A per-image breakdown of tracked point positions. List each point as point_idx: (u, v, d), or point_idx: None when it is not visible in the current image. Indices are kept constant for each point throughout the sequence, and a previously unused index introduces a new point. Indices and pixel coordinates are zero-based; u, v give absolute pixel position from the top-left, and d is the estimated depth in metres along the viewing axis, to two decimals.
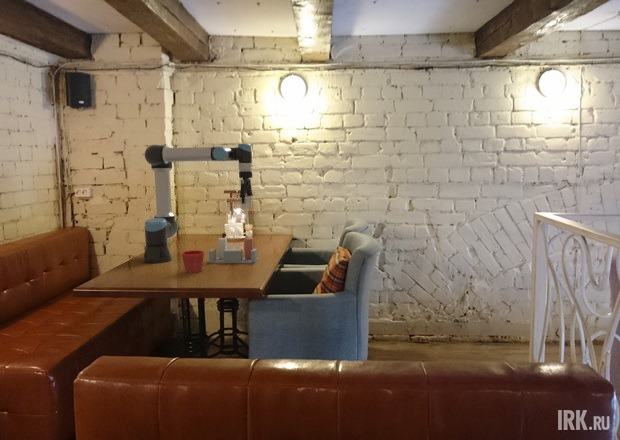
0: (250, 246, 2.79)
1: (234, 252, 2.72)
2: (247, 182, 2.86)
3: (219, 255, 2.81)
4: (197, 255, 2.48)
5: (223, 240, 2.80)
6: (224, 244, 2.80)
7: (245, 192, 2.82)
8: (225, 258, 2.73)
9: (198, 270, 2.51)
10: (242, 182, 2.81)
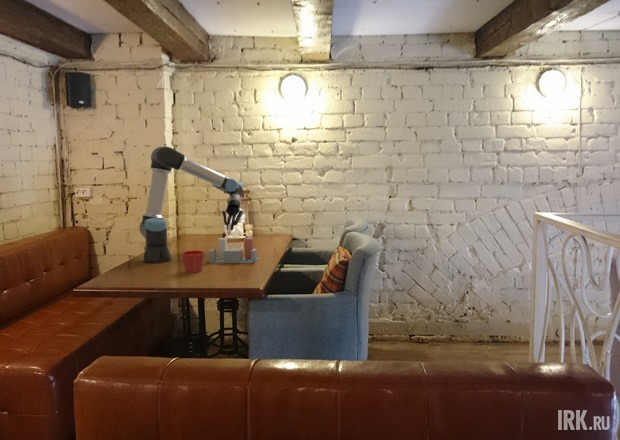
0: (250, 246, 2.79)
1: (234, 252, 2.72)
2: (229, 210, 3.05)
3: (219, 255, 2.81)
4: (197, 255, 2.48)
5: (223, 240, 2.80)
6: (224, 244, 2.80)
7: (227, 220, 3.01)
8: (225, 258, 2.73)
9: (198, 270, 2.51)
10: (223, 214, 3.06)
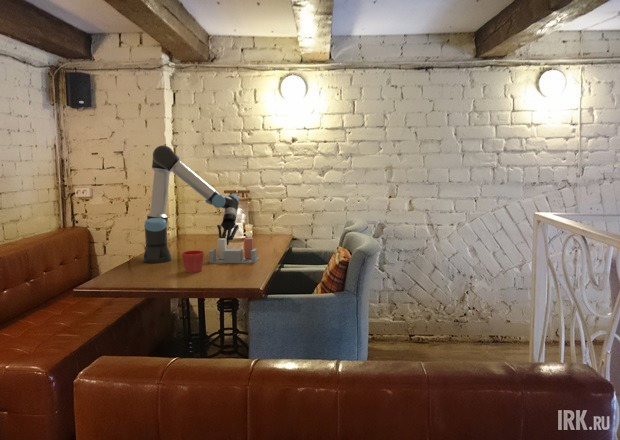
0: (250, 246, 2.79)
1: (234, 252, 2.72)
2: None
3: (218, 255, 2.80)
4: (197, 255, 2.48)
5: (222, 240, 2.79)
6: (223, 244, 2.79)
7: None
8: (225, 258, 2.73)
9: (198, 270, 2.51)
10: (218, 228, 2.95)
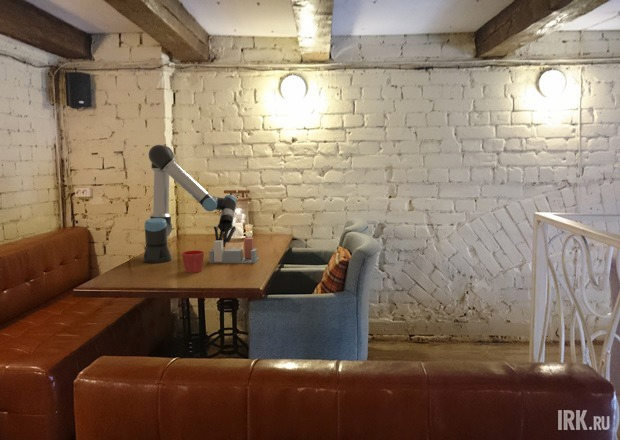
0: (250, 246, 2.79)
1: (234, 252, 2.72)
2: (221, 226, 2.87)
3: (215, 258, 2.72)
4: (197, 255, 2.48)
5: (219, 242, 2.71)
6: (220, 247, 2.72)
7: (219, 236, 2.83)
8: (225, 258, 2.73)
9: (198, 270, 2.51)
10: None
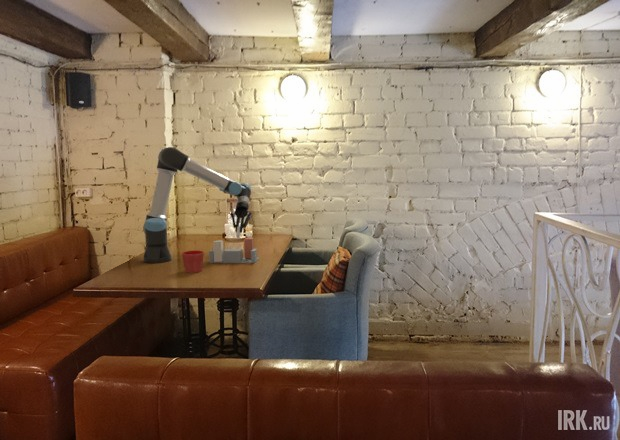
0: (250, 246, 2.79)
1: (234, 252, 2.72)
2: (237, 212, 3.00)
3: (215, 258, 2.72)
4: (197, 255, 2.48)
5: (219, 243, 2.71)
6: (220, 247, 2.71)
7: (236, 222, 2.96)
8: (225, 258, 2.73)
9: (198, 270, 2.51)
10: (231, 216, 3.01)
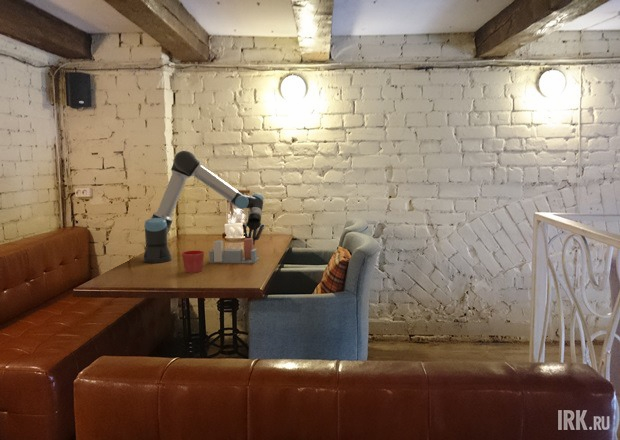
0: (250, 246, 2.78)
1: (234, 252, 2.72)
2: (250, 224, 2.93)
3: (215, 258, 2.72)
4: (197, 255, 2.48)
5: (219, 243, 2.71)
6: (220, 247, 2.71)
7: None
8: (225, 258, 2.73)
9: (198, 270, 2.51)
10: (243, 228, 2.94)
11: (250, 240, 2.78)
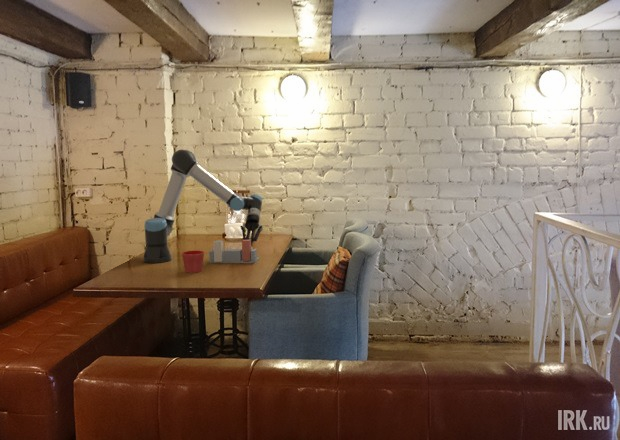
0: (248, 248, 2.73)
1: (234, 252, 2.72)
2: (248, 225, 2.88)
3: (215, 258, 2.72)
4: (197, 255, 2.48)
5: (219, 243, 2.71)
6: (220, 247, 2.71)
7: None
8: (225, 258, 2.73)
9: (198, 270, 2.51)
10: (241, 229, 2.88)
11: (248, 242, 2.72)
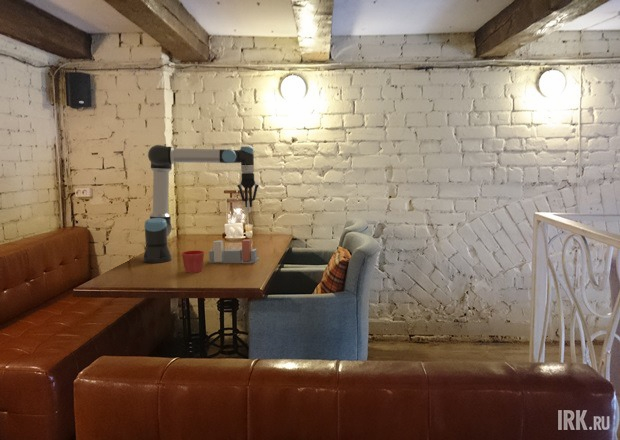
0: (248, 248, 2.73)
1: (234, 252, 2.72)
2: None
3: (215, 258, 2.72)
4: (197, 255, 2.48)
5: (219, 243, 2.71)
6: (220, 247, 2.71)
7: None
8: (225, 258, 2.73)
9: (198, 270, 2.51)
10: None
11: (248, 242, 2.72)
